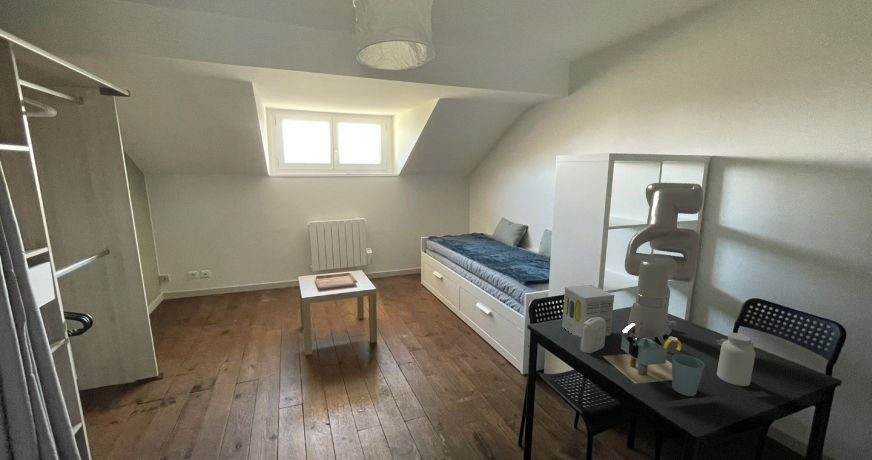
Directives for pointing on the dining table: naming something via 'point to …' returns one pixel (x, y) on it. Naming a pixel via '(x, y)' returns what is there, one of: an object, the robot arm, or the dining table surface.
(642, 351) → the u-shaped channel block
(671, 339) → the watch
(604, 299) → the supplement box
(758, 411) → the dining table surface
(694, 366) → the cup
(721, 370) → the pill bottle
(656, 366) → the board
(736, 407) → the dining table surface
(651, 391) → the dining table surface
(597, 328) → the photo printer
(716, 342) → the power adapter
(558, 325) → the dining table surface
